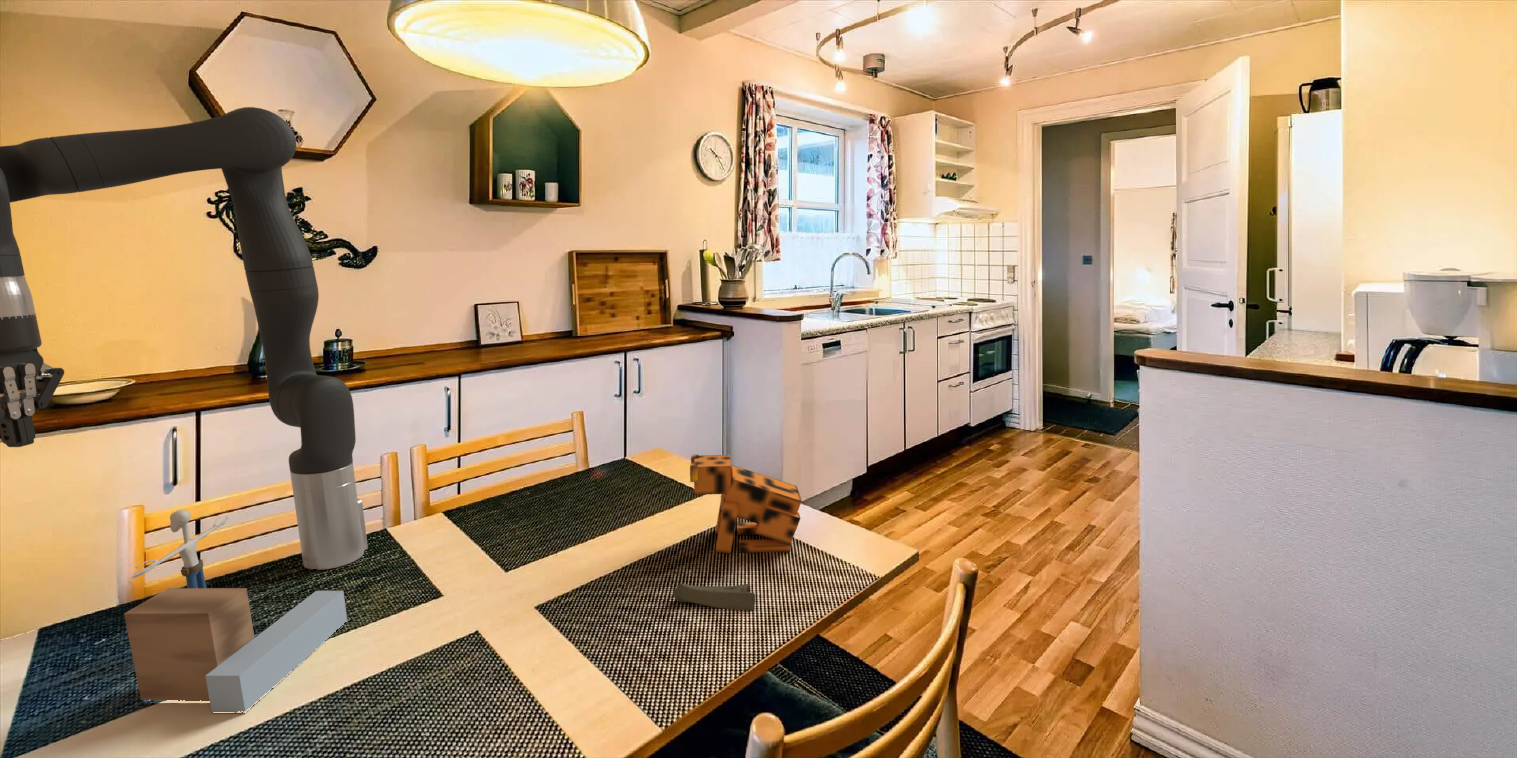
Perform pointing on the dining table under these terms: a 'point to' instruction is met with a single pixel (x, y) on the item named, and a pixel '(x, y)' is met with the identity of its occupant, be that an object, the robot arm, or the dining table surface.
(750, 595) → the grey long curved piece
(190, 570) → the alien figure
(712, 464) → the toy animal
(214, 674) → the blue-gray rectangular bar
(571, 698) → the dining table surface
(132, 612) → the walnut block
